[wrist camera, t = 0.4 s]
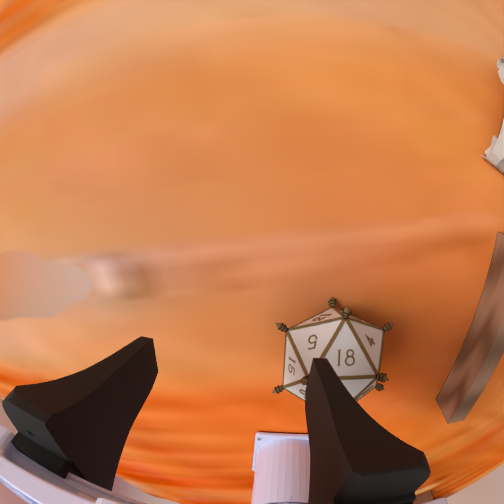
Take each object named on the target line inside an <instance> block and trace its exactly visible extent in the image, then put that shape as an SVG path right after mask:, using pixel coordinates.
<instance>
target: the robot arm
mask: <svg viewBox="0 0 504 504" xmlns="http://www.w3.org/2000/svg"><path fill="white" fill-rule="evenodd" d="M157 373H158V367H157V362H156V355H155V349H154V342H153V339H152V338H147V337H142V336H141V337H139V338H138V339H136V340H134V341H133V342H131V343H130V344H128V345H127V346H125V347H123V348H122V349H120V350H119V351H117V352H115V353H114V354H112V355H111V356H109V357H107V358H105V359H104V360H102V361H100V362H98V363H96V364H95V365H93V366H91V367H89V368H86V369H84V370H82V371H80V372H77V373H75V374H72V375H69V376H66V377H63V378H60V379H57V380H53V381H48V382H44V383H38V384H31V385H21V386H16V387H15V388H14V389H13V390H12V391H11V392H10V393H9V395H8V396H7V397H6V398H5V399H4V400H3V401H2V405H3V408H4V410H5V412H6V414H7V416H8V417H9V419H10V420H11V422H12V423H13V425H14V426H15V427H16V429H17V430H18V433H17V434H16V435H14V434H13V433H12V432H11V431H10V430H9V429H7V428H6V427H5V426H3V425H2V424H0V482H2V483H3V484H4V485H5V486H7V487H8V488H9V489H10V490H11V491H13V492H14V493H15V494H17V495H18V496H19V497H21V498H22V499H23V500H25V501H26V502H27V503H29V504H145V503H142V502H139V501H136V500H133V499H130V498H127V497H124V496H122V495H119V494H117V493H114V492H112V487H113V482H114V478H115V474H116V470H117V467H118V463H119V460H120V456H121V453H122V450H123V447H124V444H125V442H126V439H127V436H128V434H129V431H130V429H131V427H132V425H133V422H134V421H135V419H136V417H137V415H138V413H139V411H140V410H141V408H142V406H143V404H144V402H145V401H146V399H147V397H148V395H149V393H150V391H151V389H152V387H153V384H154V382H155V379H156V376H157ZM305 412H306V421H307V429H308V434H284V433H267V432H257V433H256V436H255V446H254V456H253V465H252V470H253V471H255V477H254V485H253V493H252V501H251V504H413V501H415V500H416V496H415V491H416V490H417V489H418V488H419V487H420V486H421V485H422V484H423V483H424V482H425V481H426V480H427V479H428V477H429V476H430V473H431V471H430V468H429V465H428V462H427V459H426V457H425V455H424V452H422V451H420V450H418V449H416V448H414V447H412V446H410V445H408V444H407V443H405V442H403V441H402V440H400V439H399V438H397V437H395V436H394V435H392V434H391V433H390V432H388V431H387V430H386V429H384V428H383V427H382V426H381V425H379V424H378V423H377V422H376V421H375V420H374V419H373V418H371V417H370V416H369V415H368V414H367V413H366V412H365V411H364V409H363V408H362V407H361V406H360V405H359V404H358V403H357V401H356V400H355V399H354V398H353V397H352V395H351V394H350V393H349V391H348V390H347V388H346V387H345V386H344V384H343V383H342V381H341V380H340V378H339V377H338V375H337V374H336V372H335V371H334V369H333V367H332V366H331V364H330V362H329V361H328V359H327V358H313V360H312V364H311V369H310V373H309V377H308V381H307V386H306V390H305ZM422 504H447V500H446V497H442V498H439V499H436V500H432V501H429V502H425V503H422Z"/></svg>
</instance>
